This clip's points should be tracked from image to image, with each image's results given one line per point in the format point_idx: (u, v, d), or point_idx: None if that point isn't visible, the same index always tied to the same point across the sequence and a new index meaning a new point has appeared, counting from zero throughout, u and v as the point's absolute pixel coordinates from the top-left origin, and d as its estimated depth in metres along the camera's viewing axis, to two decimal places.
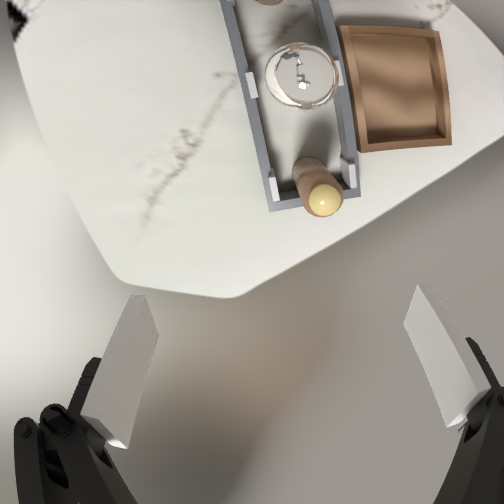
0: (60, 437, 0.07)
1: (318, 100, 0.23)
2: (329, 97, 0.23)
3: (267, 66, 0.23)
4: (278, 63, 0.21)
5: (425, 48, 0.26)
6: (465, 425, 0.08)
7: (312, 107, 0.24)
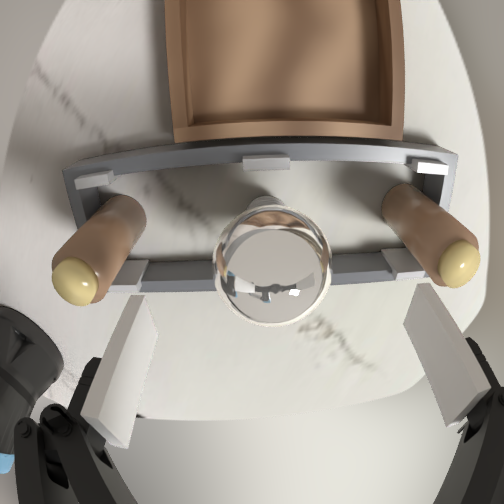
0: (60, 437, 0.07)
1: (323, 280, 0.15)
2: (321, 253, 0.15)
3: None
4: (250, 322, 0.16)
5: None
6: (465, 425, 0.08)
7: (331, 276, 0.16)
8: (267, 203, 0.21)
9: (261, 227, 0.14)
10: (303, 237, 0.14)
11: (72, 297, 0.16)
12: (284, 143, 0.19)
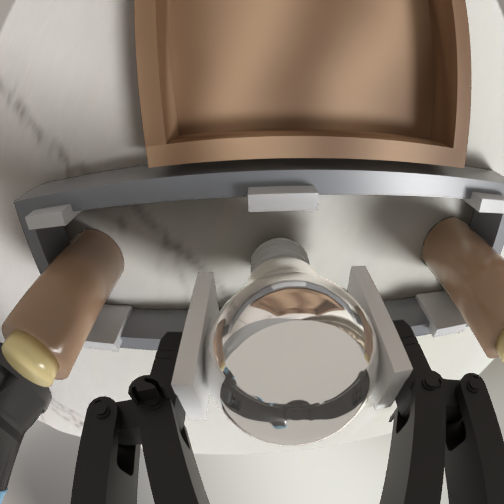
0: (145, 410, 0.08)
1: (368, 395, 0.09)
2: (369, 362, 0.09)
3: None
4: None
5: None
6: (394, 413, 0.09)
7: (375, 378, 0.10)
8: (282, 252, 0.15)
9: (281, 331, 0.08)
10: (347, 344, 0.08)
11: (30, 376, 0.11)
12: (309, 169, 0.13)
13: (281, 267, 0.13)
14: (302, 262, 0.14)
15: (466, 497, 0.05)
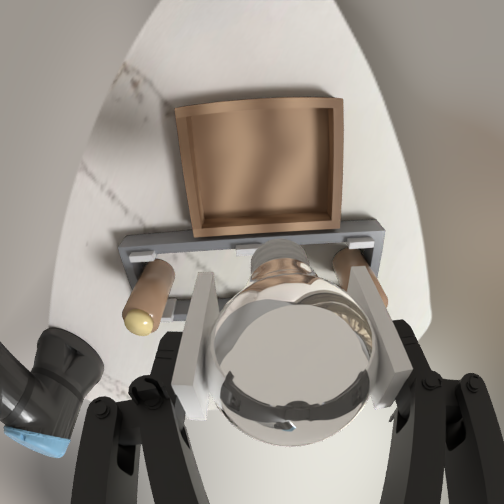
0: (146, 410, 0.08)
1: (368, 396, 0.09)
2: (369, 363, 0.09)
3: None
4: None
5: (205, 115, 0.28)
6: (394, 413, 0.09)
7: (375, 379, 0.10)
8: (282, 253, 0.15)
9: (281, 332, 0.08)
10: (347, 346, 0.08)
11: (137, 331, 0.30)
12: (261, 236, 0.32)
13: (281, 268, 0.13)
14: (302, 263, 0.14)
15: (466, 497, 0.05)
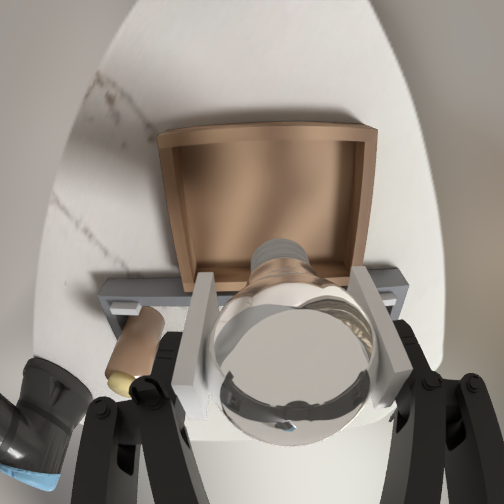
0: (146, 409, 0.08)
1: (368, 395, 0.09)
2: (370, 363, 0.09)
3: None
4: None
5: None
6: (394, 413, 0.09)
7: (375, 379, 0.10)
8: (282, 253, 0.15)
9: (281, 332, 0.08)
10: (347, 345, 0.08)
11: (122, 393, 0.25)
12: None
13: (281, 268, 0.13)
14: (302, 263, 0.14)
15: (466, 497, 0.05)
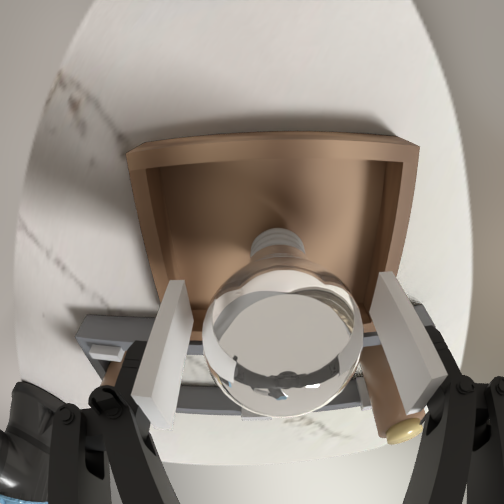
0: (107, 419, 0.08)
1: (351, 370, 0.10)
2: (351, 338, 0.10)
3: None
4: None
5: None
6: (426, 416, 0.09)
7: (360, 357, 0.11)
8: (279, 240, 0.16)
9: (269, 303, 0.10)
10: (329, 318, 0.10)
11: None
12: None
13: (276, 252, 0.14)
14: (296, 249, 0.15)
15: (484, 497, 0.04)
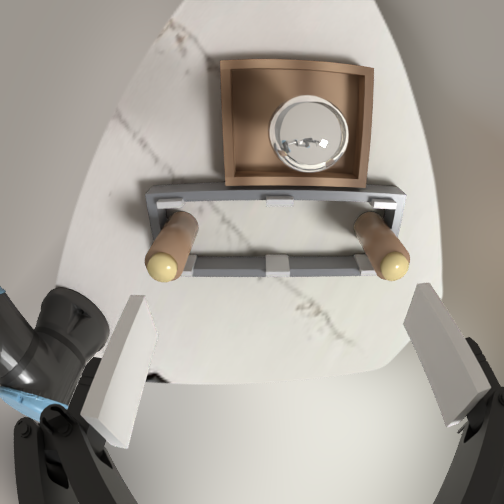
0: (60, 437, 0.07)
1: (343, 132, 0.21)
2: (341, 116, 0.21)
3: (292, 168, 0.24)
4: (294, 163, 0.23)
5: (245, 72, 0.28)
6: (465, 425, 0.08)
7: (348, 136, 0.22)
8: None
9: (304, 97, 0.21)
10: (330, 105, 0.21)
11: (159, 276, 0.31)
12: (291, 189, 0.33)
13: None
14: None
15: None
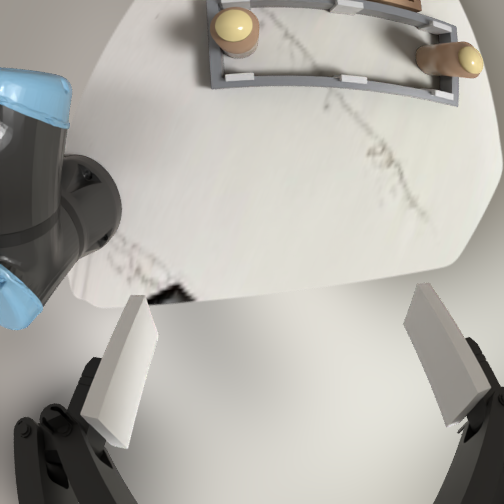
0: (60, 437, 0.07)
1: None
2: None
3: None
4: None
5: None
6: (465, 425, 0.08)
7: None
8: None
9: None
10: None
11: (230, 33, 0.20)
12: None
13: None
14: None
15: None
